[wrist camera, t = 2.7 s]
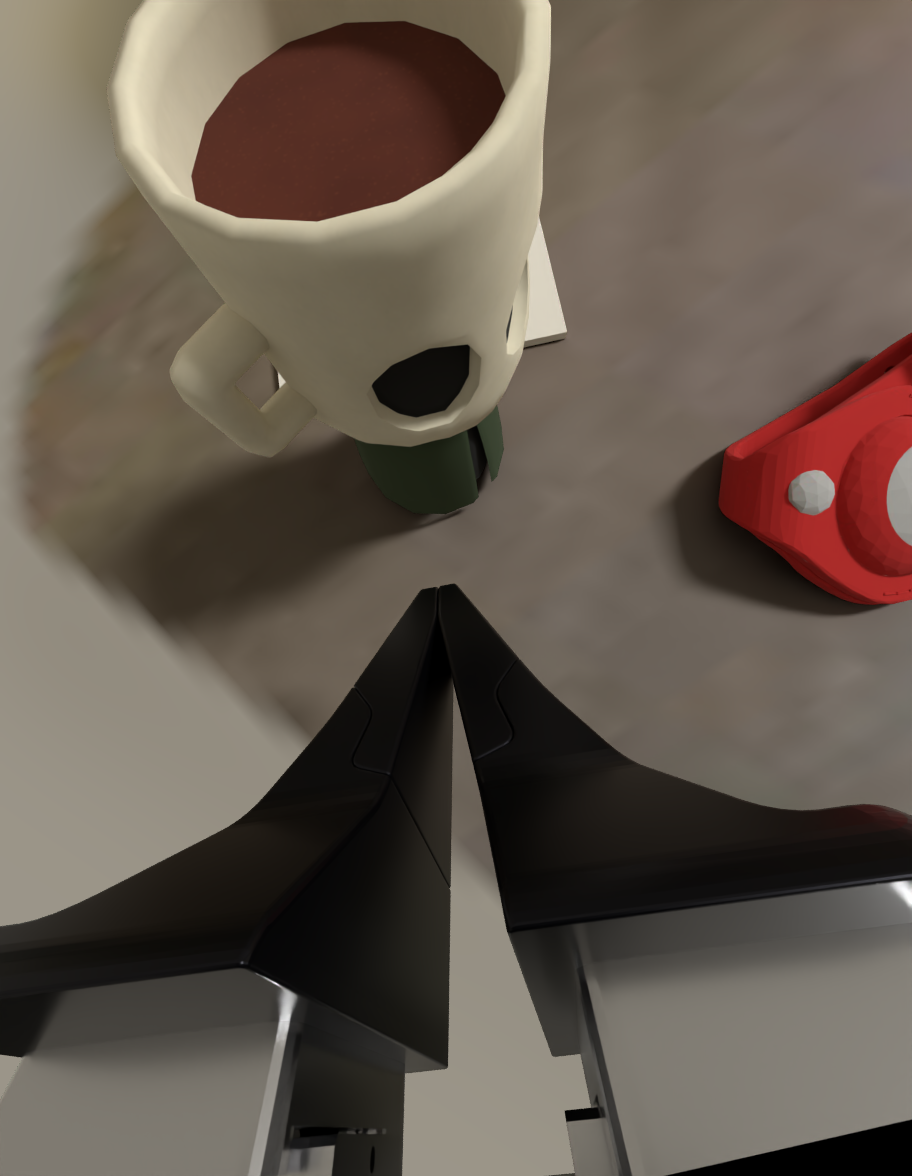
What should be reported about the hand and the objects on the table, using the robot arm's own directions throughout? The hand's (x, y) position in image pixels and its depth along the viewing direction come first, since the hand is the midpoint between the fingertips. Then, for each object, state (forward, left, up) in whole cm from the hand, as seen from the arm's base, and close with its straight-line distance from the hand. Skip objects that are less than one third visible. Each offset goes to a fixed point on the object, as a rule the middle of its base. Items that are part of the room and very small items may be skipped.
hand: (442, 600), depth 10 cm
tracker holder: (+6, -17, -9) cm, 20 cm away
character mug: (+8, +1, -8) cm, 12 cm away
